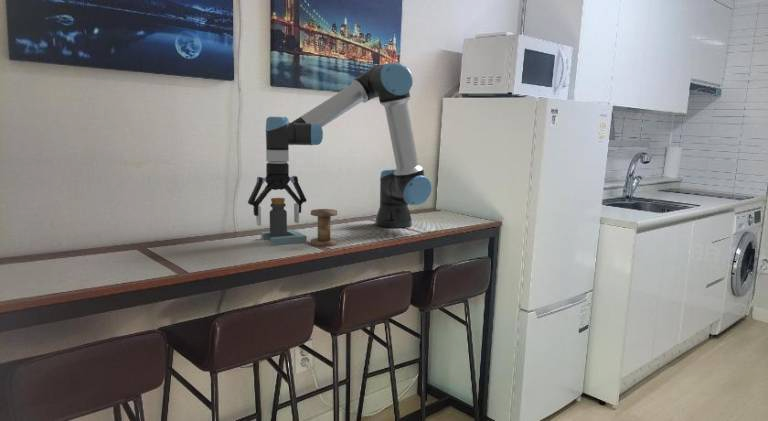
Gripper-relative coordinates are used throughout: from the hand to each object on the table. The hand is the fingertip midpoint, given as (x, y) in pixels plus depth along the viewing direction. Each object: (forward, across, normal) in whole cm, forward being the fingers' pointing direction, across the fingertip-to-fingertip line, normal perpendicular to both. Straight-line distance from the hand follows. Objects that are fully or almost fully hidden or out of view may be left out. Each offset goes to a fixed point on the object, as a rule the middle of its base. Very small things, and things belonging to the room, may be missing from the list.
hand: (278, 223), depth 189 cm
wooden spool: (+6, -13, +10) cm, 18 cm away
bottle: (+6, 0, 0) cm, 6 cm away
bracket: (+6, -2, 0) cm, 7 cm away
